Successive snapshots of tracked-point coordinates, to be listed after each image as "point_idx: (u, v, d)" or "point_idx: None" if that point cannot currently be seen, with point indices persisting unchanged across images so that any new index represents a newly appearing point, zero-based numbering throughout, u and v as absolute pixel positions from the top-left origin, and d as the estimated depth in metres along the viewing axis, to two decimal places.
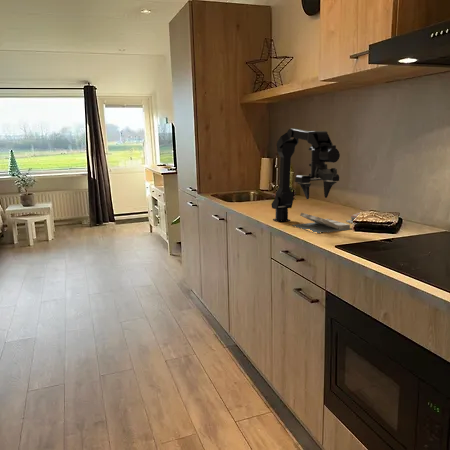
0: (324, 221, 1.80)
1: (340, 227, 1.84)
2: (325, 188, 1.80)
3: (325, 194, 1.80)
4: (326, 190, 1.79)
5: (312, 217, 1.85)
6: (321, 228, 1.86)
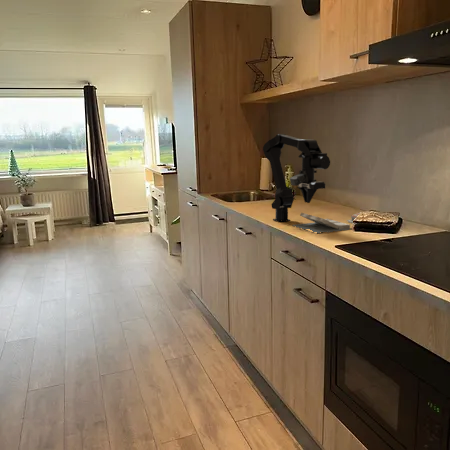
0: (324, 221, 1.80)
1: (340, 227, 1.84)
2: None
3: None
4: None
5: (312, 217, 1.85)
6: (321, 228, 1.86)
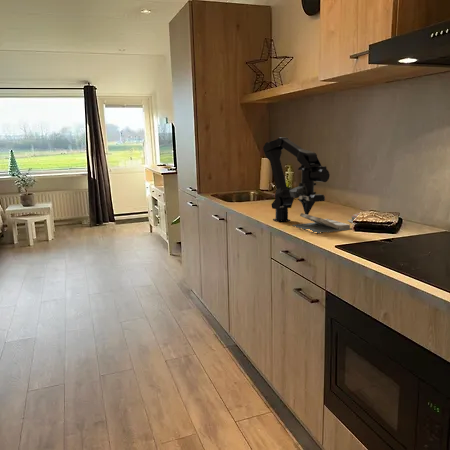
0: (324, 221, 1.80)
1: (340, 227, 1.84)
2: None
3: None
4: None
5: (312, 217, 1.85)
6: (321, 228, 1.86)
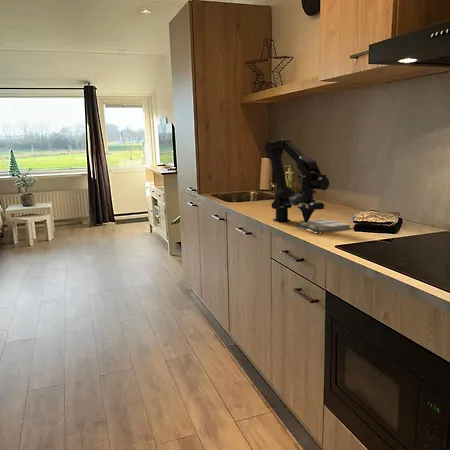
0: (323, 229, 1.80)
1: (340, 227, 1.84)
2: None
3: None
4: None
5: (311, 226, 1.85)
6: None
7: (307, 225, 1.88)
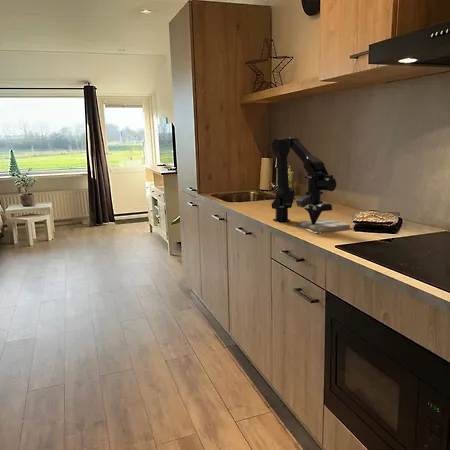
0: (323, 229, 1.80)
1: (340, 227, 1.84)
2: None
3: None
4: None
5: (311, 226, 1.85)
6: None
7: (307, 226, 1.88)
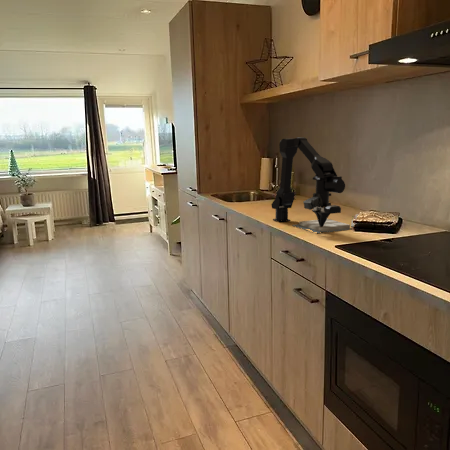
0: (323, 229, 1.80)
1: (340, 227, 1.84)
2: None
3: None
4: None
5: (311, 226, 1.85)
6: None
7: (307, 226, 1.88)
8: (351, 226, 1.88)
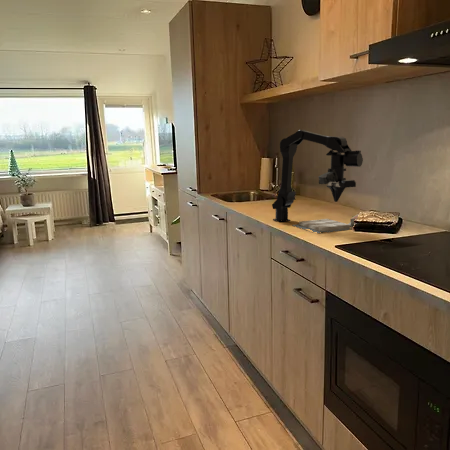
0: (323, 229, 1.80)
1: (340, 227, 1.84)
2: None
3: None
4: None
5: (311, 226, 1.85)
6: None
7: (307, 226, 1.88)
8: None
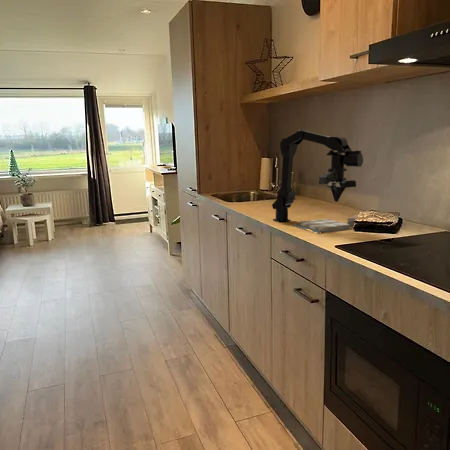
0: (323, 229, 1.80)
1: (340, 227, 1.84)
2: None
3: None
4: None
5: (311, 226, 1.85)
6: None
7: (307, 226, 1.88)
8: None
